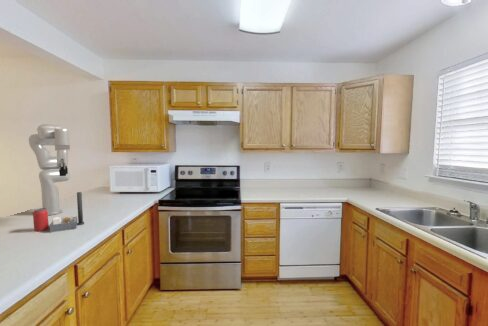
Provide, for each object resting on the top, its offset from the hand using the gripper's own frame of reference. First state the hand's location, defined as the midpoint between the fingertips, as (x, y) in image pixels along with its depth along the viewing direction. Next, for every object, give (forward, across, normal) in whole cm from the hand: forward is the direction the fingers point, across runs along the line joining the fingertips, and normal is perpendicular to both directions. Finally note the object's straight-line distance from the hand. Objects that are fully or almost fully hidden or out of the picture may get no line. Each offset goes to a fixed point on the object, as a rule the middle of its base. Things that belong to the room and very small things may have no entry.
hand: (63, 174), depth 155 cm
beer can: (+30, +12, -10) cm, 34 cm away
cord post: (+30, +12, +8) cm, 33 cm away
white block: (+26, +17, -2) cm, 31 cm away
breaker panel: (+30, +14, 0) cm, 33 cm away
